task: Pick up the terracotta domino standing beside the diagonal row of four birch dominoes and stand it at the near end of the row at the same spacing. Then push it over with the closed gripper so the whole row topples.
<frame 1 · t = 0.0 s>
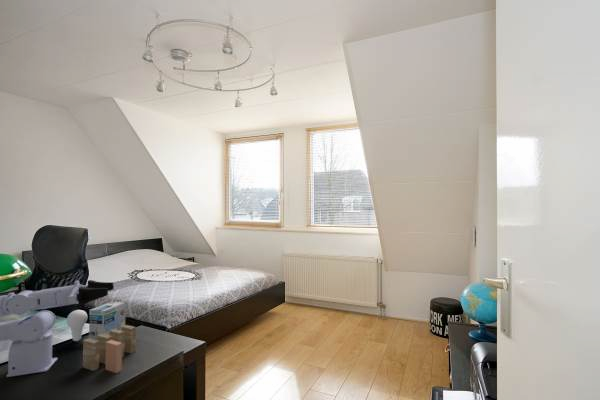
hand: (110, 288, 99), 22 cm above the table, tool horizontal, fingers open, 7 cm apart
lightbulb: (76, 341, 111), on the table
domino 2: (90, 367, 92), on the table
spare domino: (113, 370, 91), on the table
light bulb box: (107, 335, 117), on the table
domino 5: (128, 351, 103), on the table
domino 3: (104, 361, 96), on the table
domino 4: (116, 356, 99), on the table
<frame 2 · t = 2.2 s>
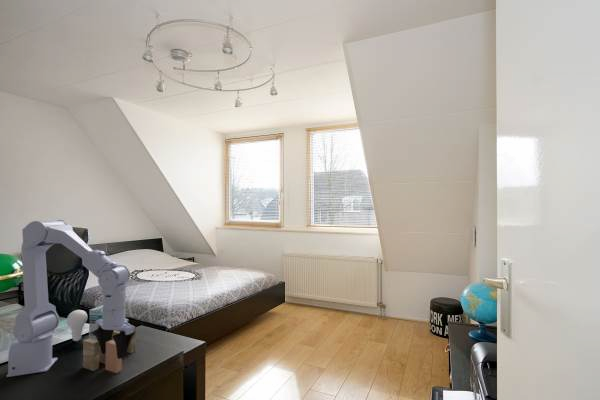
hand: (113, 354, 91), 4 cm above the table, tool pointing down, fingers open, 7 cm apart
domino 2: (90, 367, 92), on the table, touching gripper
domino 3: (104, 361, 96), on the table, touching gripper
everything else where it was.
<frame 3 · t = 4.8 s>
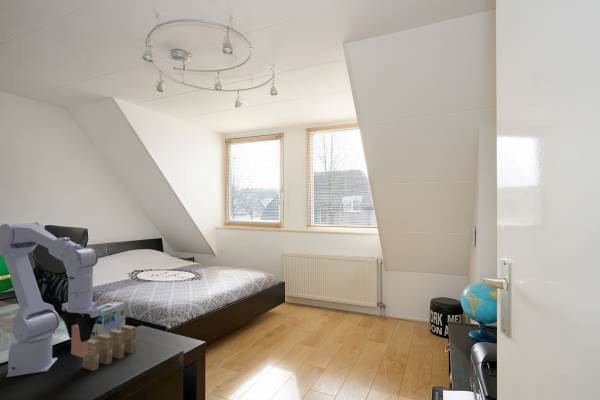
hand: (79, 338, 88), 10 cm above the table, tool pointing down, fingers closed on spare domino, 5 cm apart
domino 2: (90, 367, 92), on the table
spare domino: (79, 354, 88), point 6 cm above the table, touching gripper
domino 3: (104, 361, 96), on the table
everything else where it was.
when the fingers open (5 cm above the table, at t = 6.8 s): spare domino stays where it is, on the table.
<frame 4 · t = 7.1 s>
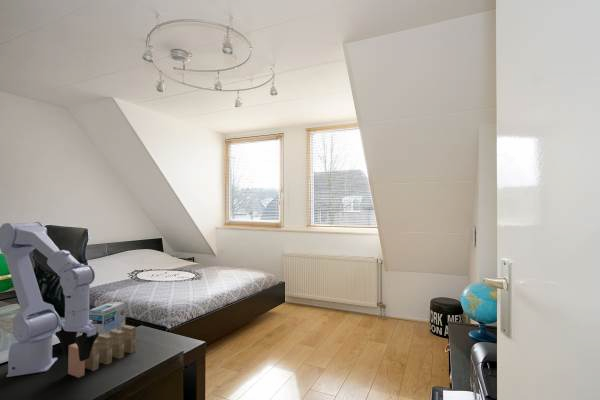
hand: (76, 356, 89), 5 cm above the table, tool pointing down, fingers open, 7 cm apart
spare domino: (76, 374, 89), on the table
everything else where it was.
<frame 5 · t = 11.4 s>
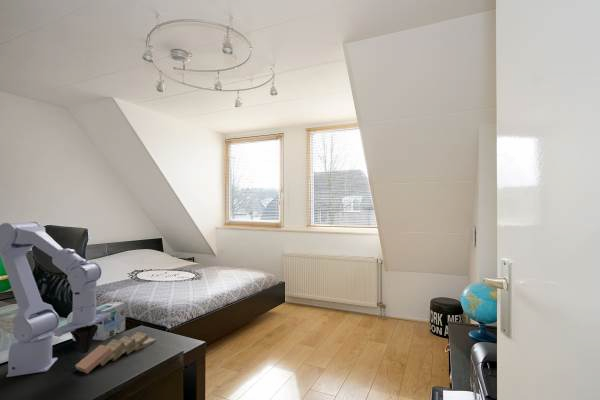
hand: (83, 352, 91), 5 cm above the table, tool pointing down, fingers closed
domino 2: (96, 362, 94), point 1 cm above the table, tilted 66°, touching domino 3, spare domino
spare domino: (81, 369, 90), point 1 cm above the table, tilted 66°, touching domino 2
domino 5: (130, 349, 104), on the table, tilted 90°, touching domino 4
domino 3: (108, 357, 97), point 1 cm above the table, tilted 69°, touching domino 2
domino 4: (122, 351, 101), point 1 cm above the table, tilted 72°, touching domino 5
everything else where it was.
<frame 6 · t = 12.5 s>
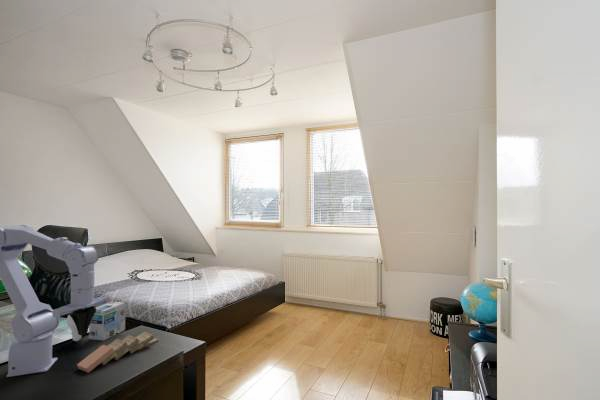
hand: (82, 334, 91), 10 cm above the table, tool pointing down, fingers closed
domino 4: (126, 349, 102), point 1 cm above the table, tilted 75°, touching domino 5
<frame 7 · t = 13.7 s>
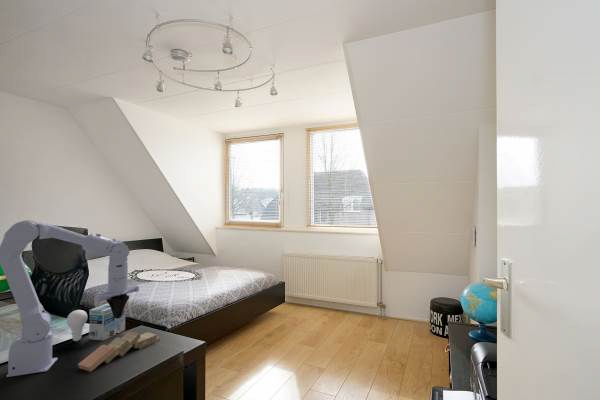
hand: (117, 317, 105), 10 cm above the table, tool pointing down, fingers closed
domino 2: (101, 360, 95), point 1 cm above the table, tilted 66°
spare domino: (84, 368, 91), point 1 cm above the table, tilted 70°
domino 3: (115, 353, 99), point 1 cm above the table, tilted 64°, touching domino 4
domino 4: (130, 344, 104), point 2 cm above the table, tilted 90°, touching domino 3, domino 5
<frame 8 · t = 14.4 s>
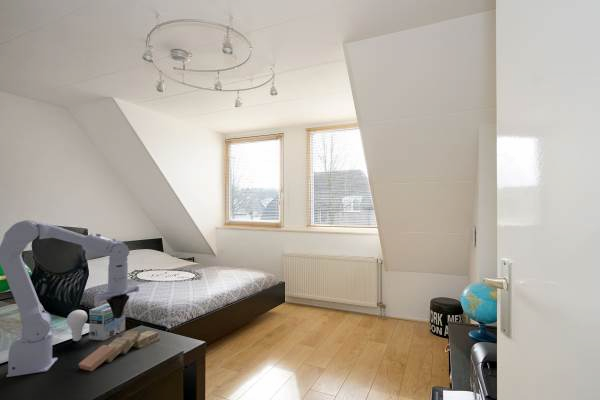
hand: (117, 317, 105), 10 cm above the table, tool pointing down, fingers closed
domino 2: (103, 359, 96), point 1 cm above the table, tilted 68°, touching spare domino
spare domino: (85, 367, 91), point 1 cm above the table, tilted 72°, touching domino 2
domino 5: (135, 347, 106), on the table, tilted 90°
domino 3: (118, 351, 101), point 1 cm above the table, tilted 67°
domino 4: (133, 342, 106), point 2 cm above the table, tilted 90°
everything else where it was.
at the end: domino 5 tilted 90°; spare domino tilted 71°; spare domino 5.5 cm from the domino 2 (horizontally) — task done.
